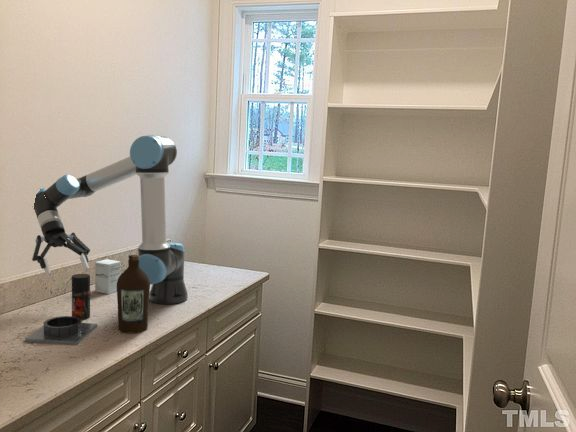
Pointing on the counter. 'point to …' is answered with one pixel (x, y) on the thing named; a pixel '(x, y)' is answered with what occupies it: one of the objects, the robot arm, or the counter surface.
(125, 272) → the olive oil
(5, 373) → the counter surface
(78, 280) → the deodorant
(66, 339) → the duct flange
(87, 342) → the counter surface
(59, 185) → the robot arm
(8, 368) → the counter surface
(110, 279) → the supplement box
